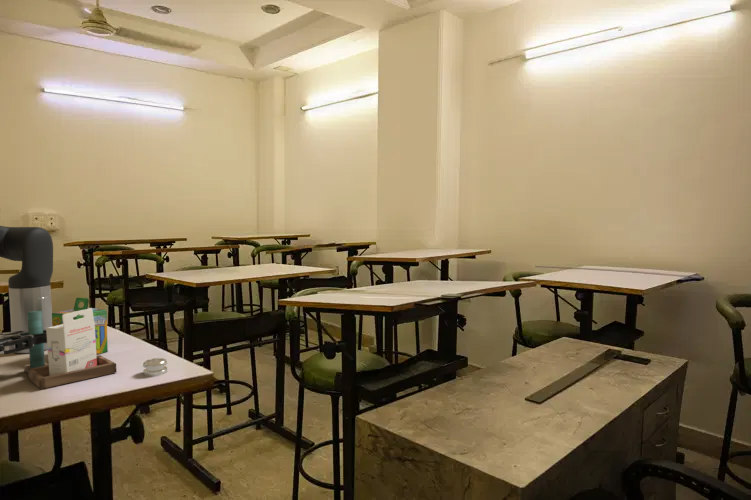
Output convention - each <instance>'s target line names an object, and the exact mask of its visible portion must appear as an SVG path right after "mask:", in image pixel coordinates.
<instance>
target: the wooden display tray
mask: <svg viewBox="0 0 751 500" xmlns="http://www.w3.org/2000/svg"><path fill="white" fill-rule="evenodd" d="M27 319H28V335H30V334H32V335H34V334H40V333H43V321H42V311H31V312H27ZM96 356H97V366H94V367H89V368H84V369H80V370H75V371H70V372H67V373H60V374H56V375H51V376H49V363H47V362H45V350H44V343H41V344H35V345H34V346H33V348H30V349H29V364H24V365H23V371H25V372H26V373H27V376H28V377H27V378H28V380H30V381H31V382H32V383H33V384H34V385H36V386H37V387H38V388H39V389H40V390H43V389H47V388H51V387H57V386H60V385H61V386H62V385H65V384H70V383H75V382H80V381H83V380H88V379H93V378H97V377H101V376H105V375H110V374H114V373H117V363H116V362H114V361H112V360H110V359H108V358H107V357H104V356H102V355H101V354H97V355H96Z"/></svg>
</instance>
